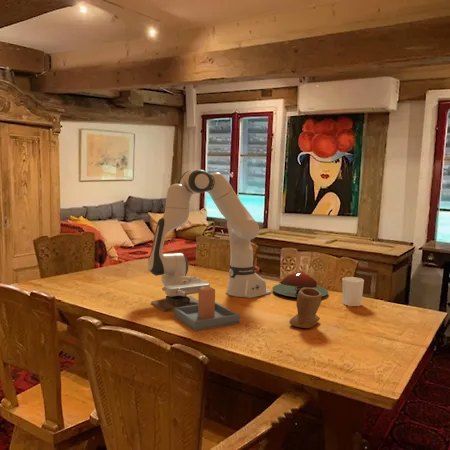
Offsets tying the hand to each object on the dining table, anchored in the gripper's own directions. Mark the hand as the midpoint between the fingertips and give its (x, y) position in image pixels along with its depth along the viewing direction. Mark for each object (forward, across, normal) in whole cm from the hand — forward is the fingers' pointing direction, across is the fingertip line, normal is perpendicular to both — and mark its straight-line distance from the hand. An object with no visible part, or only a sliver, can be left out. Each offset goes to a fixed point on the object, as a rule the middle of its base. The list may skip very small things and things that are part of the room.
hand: (195, 293), depth 200 cm
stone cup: (+34, +34, +9) cm, 49 cm away
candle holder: (+21, +72, +9) cm, 75 cm away
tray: (+11, 0, +8) cm, 14 cm away
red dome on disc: (-5, +62, +9) cm, 63 cm away
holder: (-13, -2, +8) cm, 16 cm away
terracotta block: (+11, 0, +8) cm, 13 cm away
